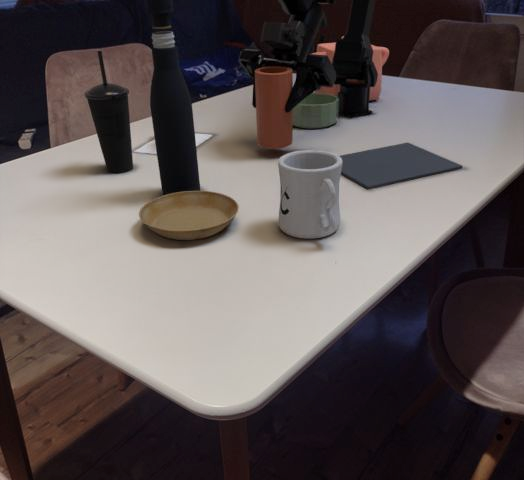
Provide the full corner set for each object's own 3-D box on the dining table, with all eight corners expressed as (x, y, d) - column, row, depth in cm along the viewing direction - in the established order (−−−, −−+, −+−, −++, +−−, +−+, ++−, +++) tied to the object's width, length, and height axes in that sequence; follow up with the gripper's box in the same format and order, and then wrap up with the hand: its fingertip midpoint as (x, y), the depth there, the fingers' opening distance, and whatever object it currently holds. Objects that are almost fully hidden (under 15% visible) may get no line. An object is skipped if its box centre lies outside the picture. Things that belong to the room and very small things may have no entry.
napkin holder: (182, 156, 115) (179, 126, 111) (132, 151, 118) (127, 122, 115) (213, 134, 126) (211, 106, 123) (167, 131, 129) (163, 103, 126)
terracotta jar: (282, 135, 117) (281, 64, 109) (298, 144, 112) (299, 71, 104) (251, 140, 115) (248, 69, 107) (266, 150, 110) (264, 76, 102)
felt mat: (407, 144, 116) (407, 142, 116) (462, 168, 104) (462, 165, 104) (319, 162, 109) (319, 159, 109) (367, 189, 98) (368, 186, 97)
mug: (269, 221, 88) (267, 154, 83) (323, 210, 91) (325, 145, 85) (302, 255, 79) (302, 183, 73) (361, 243, 81) (367, 172, 76)
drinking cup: (145, 161, 113) (127, 46, 101) (134, 175, 107) (114, 54, 95) (107, 161, 113) (85, 47, 102) (94, 175, 107) (69, 55, 96)
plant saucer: (259, 223, 88) (259, 207, 86) (182, 257, 80) (180, 239, 78) (197, 199, 97) (196, 183, 95) (122, 227, 88) (119, 210, 87)
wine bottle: (194, 201, 96) (171, -13, 78) (157, 200, 97) (126, -13, 79) (205, 187, 101) (185, -18, 83) (169, 186, 102) (143, -17, 84)
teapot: (295, 95, 152) (295, 35, 144) (372, 87, 157) (376, 28, 148) (324, 114, 136) (326, 48, 128) (408, 104, 141) (415, 39, 133)
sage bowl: (321, 113, 137) (322, 90, 134) (346, 124, 129) (348, 100, 126) (279, 120, 133) (279, 97, 130) (302, 132, 125) (303, 107, 122)
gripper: (240, -1, 106) (208, 77, 106) (330, 2, 98) (296, 87, 97) (266, 40, 116) (237, 112, 116) (350, 47, 107) (319, 124, 107)
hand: (269, 108), depth 108 cm, fingers closed on terracotta jar, 7 cm apart
